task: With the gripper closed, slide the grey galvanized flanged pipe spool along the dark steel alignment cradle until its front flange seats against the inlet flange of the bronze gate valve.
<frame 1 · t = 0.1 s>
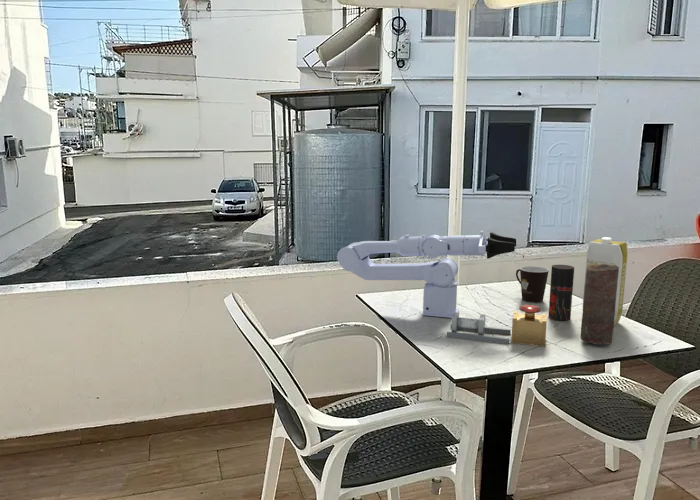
hand: (515, 244, 155), 22 cm above the table, tool horizontal, fingers open, 7 cm apart
candle: (595, 344, 141), on the table
juice carton: (601, 322, 158), on the table
coffee mug: (530, 299, 181), on the table
deodorant: (559, 318, 161), on the table
valve: (528, 340, 143), on the table
spool: (468, 334, 148), on the table
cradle: (478, 335, 147), on the table
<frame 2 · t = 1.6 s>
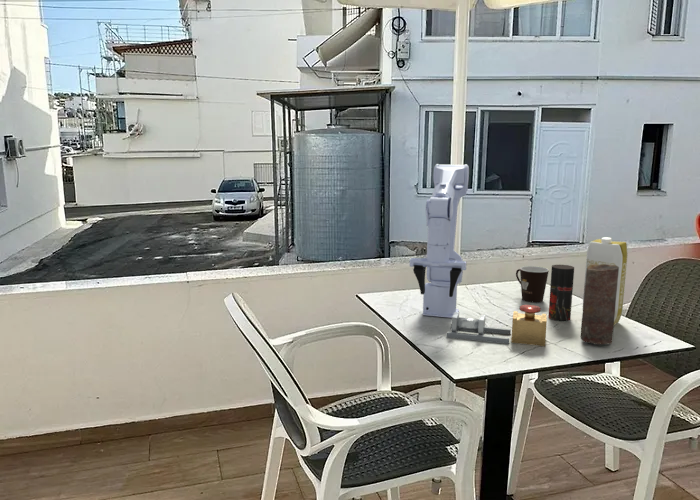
hand: (436, 294, 148), 10 cm above the table, tool pointing down, fingers open, 7 cm apart
nothing on the table moved.
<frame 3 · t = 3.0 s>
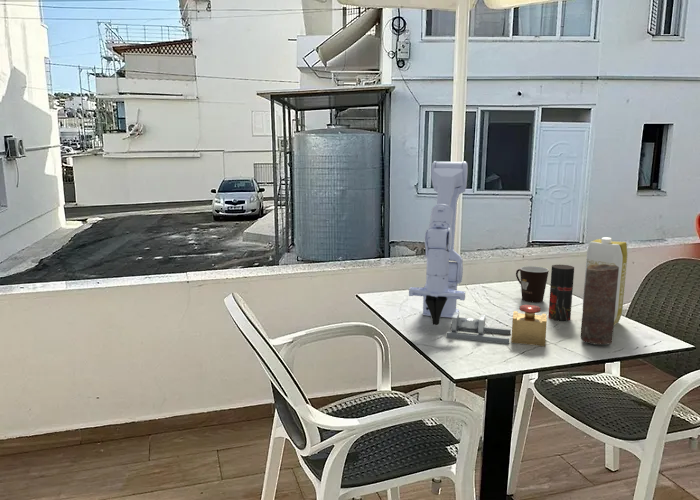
hand: (435, 323, 150), 2 cm above the table, tool pointing down, fingers closed
nothing on the table moved.
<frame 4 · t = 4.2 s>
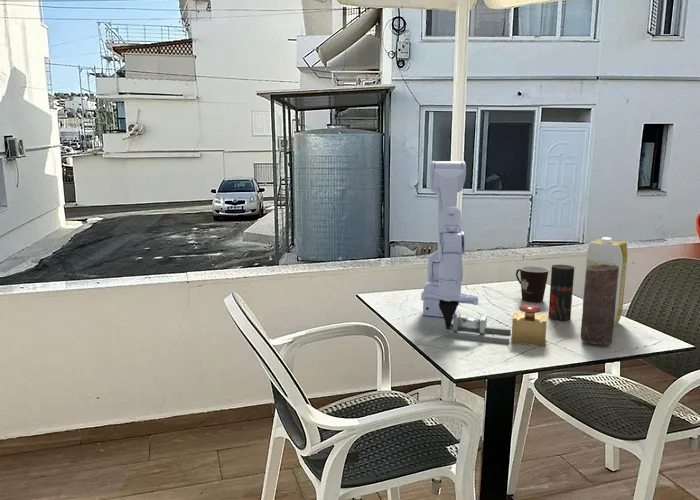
hand: (448, 328, 149), 1 cm above the table, tool pointing down, fingers closed
spool: (469, 334, 148), on the table, touching gripper
everything else where it was.
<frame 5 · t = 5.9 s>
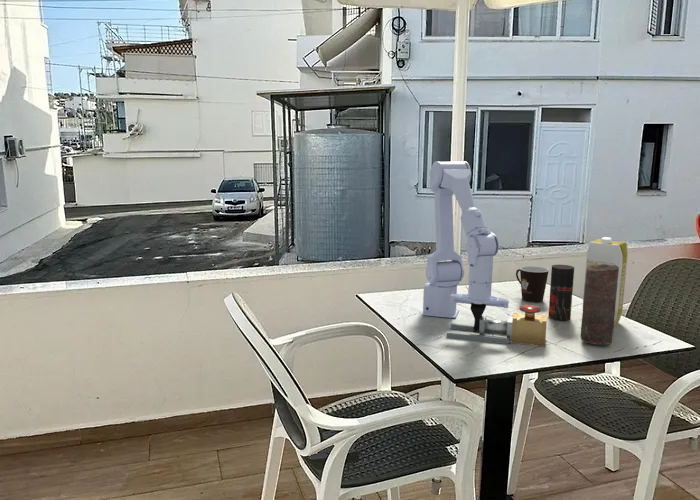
hand: (477, 331, 147), 1 cm above the table, tool pointing down, fingers closed, pressing on spool
spool: (495, 336, 146), on the table, touching gripper, valve
everything else where it was.
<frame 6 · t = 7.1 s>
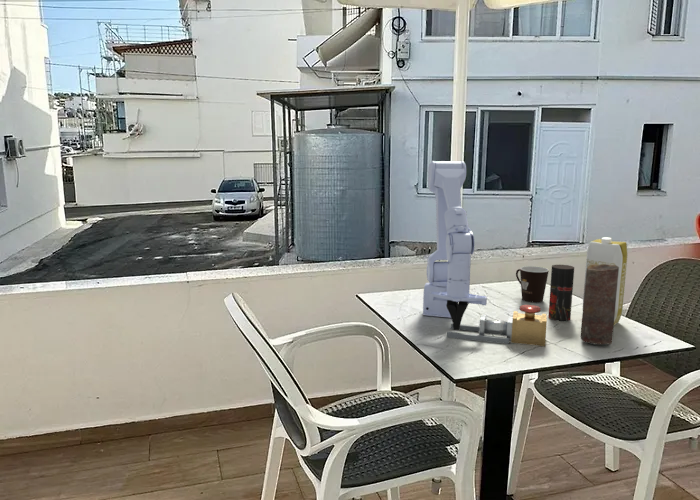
hand: (456, 328, 148), 1 cm above the table, tool pointing down, fingers closed
spool: (495, 337, 146), on the table
everything else where it was.
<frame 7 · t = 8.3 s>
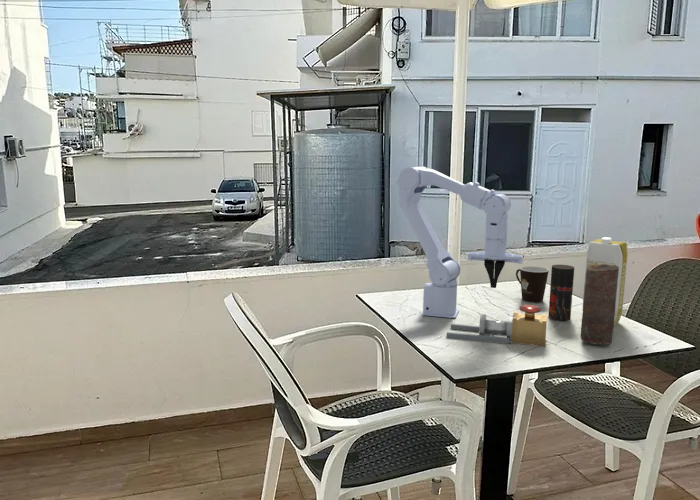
hand: (493, 287, 156), 10 cm above the table, tool pointing down, fingers closed
nothing on the table moved.
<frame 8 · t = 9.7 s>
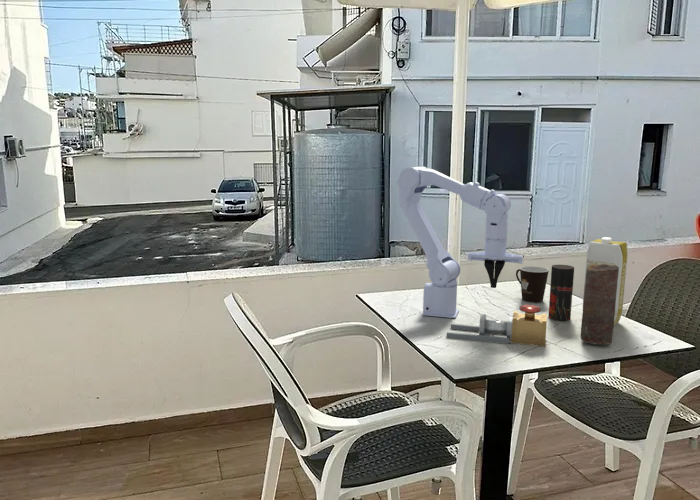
hand: (493, 287, 156), 10 cm above the table, tool pointing down, fingers closed
nothing on the table moved.
at the end: spool 0.8 cm from the target spot on the table beside the valve, on the table; spool tilted 0° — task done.
